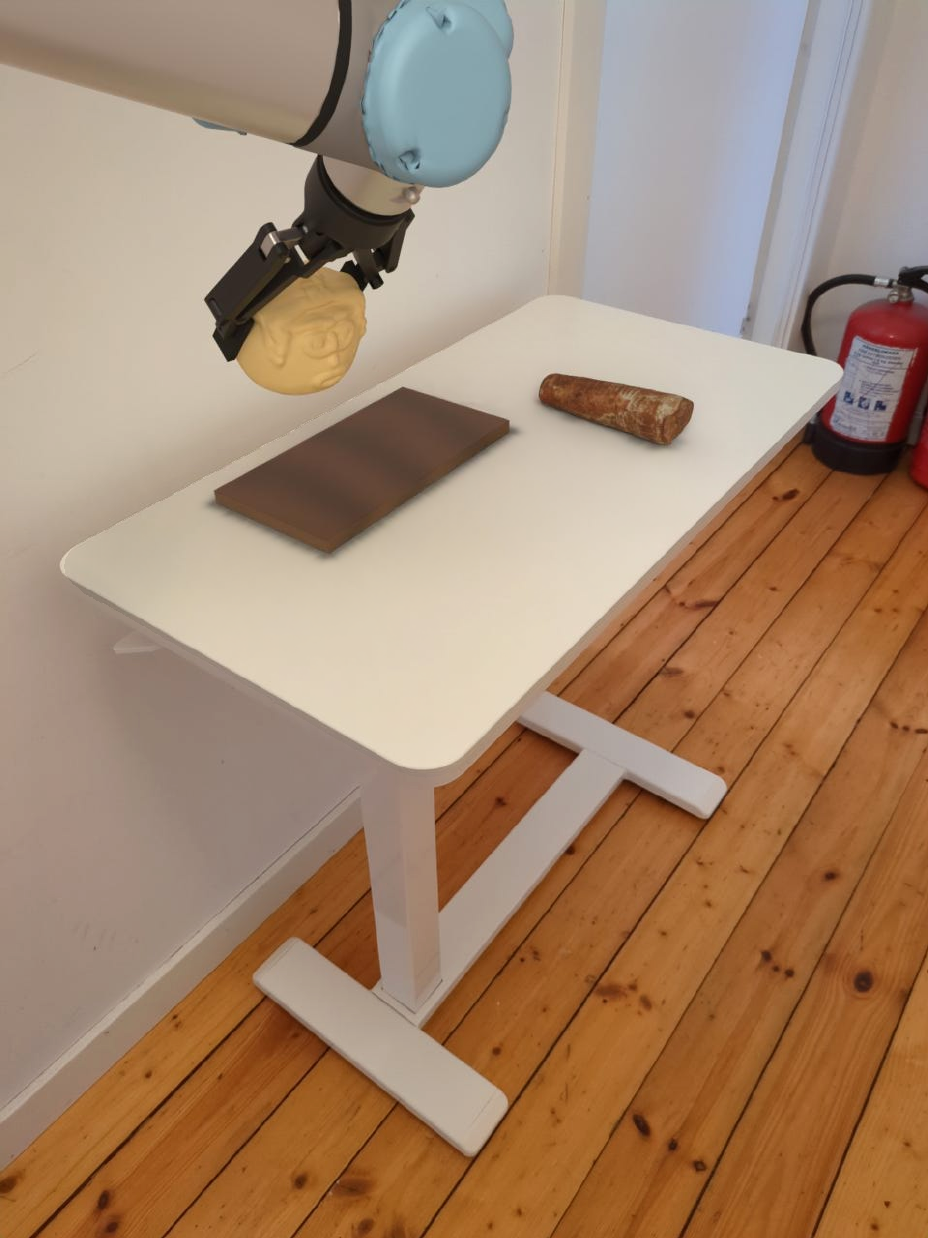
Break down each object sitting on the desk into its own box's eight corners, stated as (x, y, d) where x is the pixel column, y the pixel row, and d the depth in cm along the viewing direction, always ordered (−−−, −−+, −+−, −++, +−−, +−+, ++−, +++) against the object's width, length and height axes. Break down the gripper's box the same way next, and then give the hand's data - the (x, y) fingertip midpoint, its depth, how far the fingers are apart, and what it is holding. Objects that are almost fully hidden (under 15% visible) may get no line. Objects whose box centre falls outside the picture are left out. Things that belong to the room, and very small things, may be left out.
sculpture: (290, 420, 78) (270, 297, 71) (216, 381, 85) (191, 265, 78) (390, 380, 84) (380, 262, 78) (313, 346, 91) (298, 235, 84)
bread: (667, 457, 97) (673, 410, 94) (529, 408, 108) (530, 364, 104) (696, 435, 101) (703, 389, 98) (560, 390, 111) (562, 347, 108)
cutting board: (328, 554, 85) (326, 540, 84) (216, 502, 92) (213, 490, 91) (509, 431, 103) (509, 419, 102) (403, 397, 111) (402, 386, 110)
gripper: (257, 258, 59) (187, 405, 77) (508, 188, 71) (397, 328, 90) (198, 158, 59) (142, 329, 77) (460, 105, 71) (358, 263, 90)
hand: (279, 329), depth 84 cm, fingers closed on sculpture, 11 cm apart
